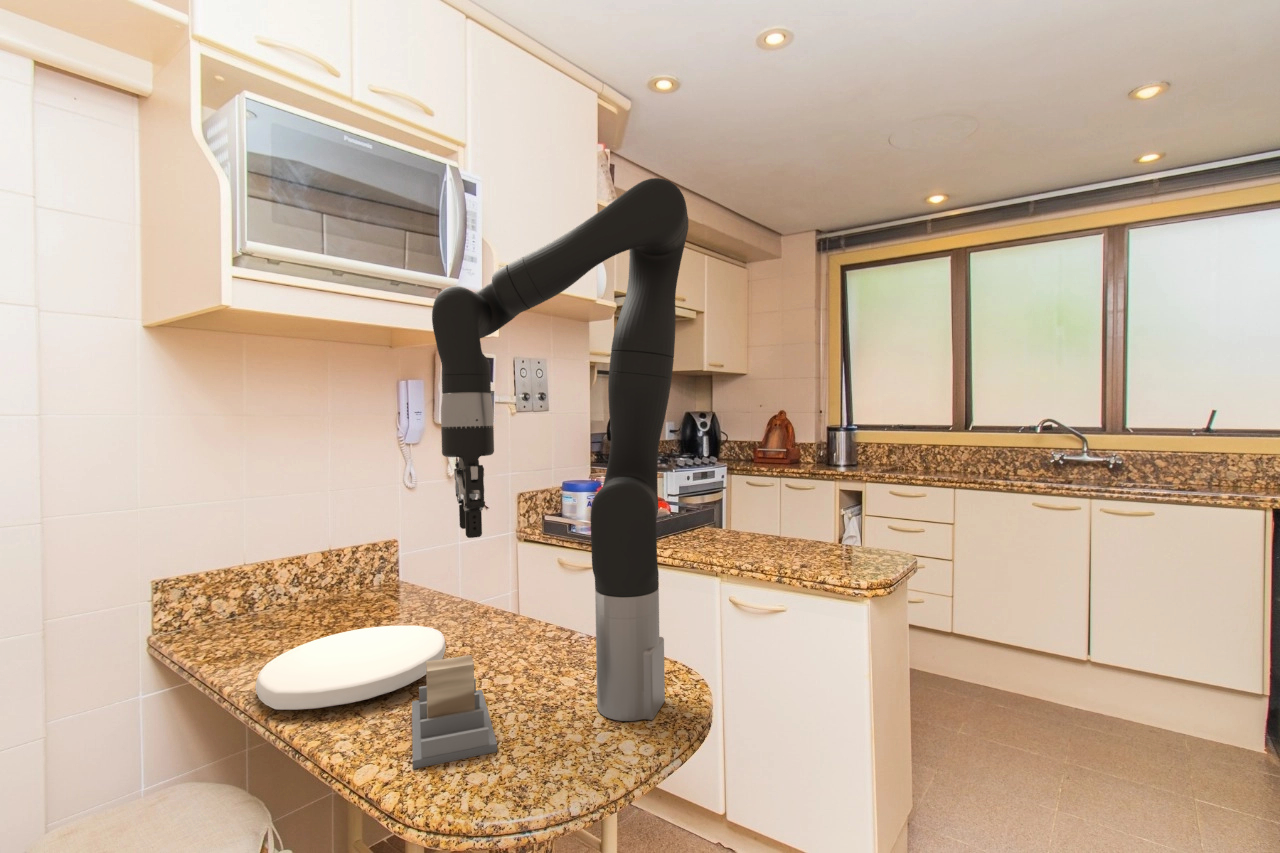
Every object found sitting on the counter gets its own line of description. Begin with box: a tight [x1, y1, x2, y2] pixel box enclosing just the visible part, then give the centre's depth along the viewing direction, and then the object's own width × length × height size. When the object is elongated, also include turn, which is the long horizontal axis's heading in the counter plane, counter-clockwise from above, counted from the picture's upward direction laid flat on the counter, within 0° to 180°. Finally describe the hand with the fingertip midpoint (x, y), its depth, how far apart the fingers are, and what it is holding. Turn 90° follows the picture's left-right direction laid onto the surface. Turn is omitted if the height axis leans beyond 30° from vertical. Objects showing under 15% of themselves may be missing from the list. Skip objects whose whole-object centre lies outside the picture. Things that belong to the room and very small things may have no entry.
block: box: [425, 654, 475, 719], centre depth 83 cm, size 4×6×8 cm, turn 111°
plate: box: [255, 625, 446, 711], centre depth 100 cm, size 28×6×27 cm
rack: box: [411, 677, 498, 770], centre depth 83 cm, size 17×10×3 cm, turn 21°
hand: (470, 532), depth 91 cm, fingers open, 8 cm apart
